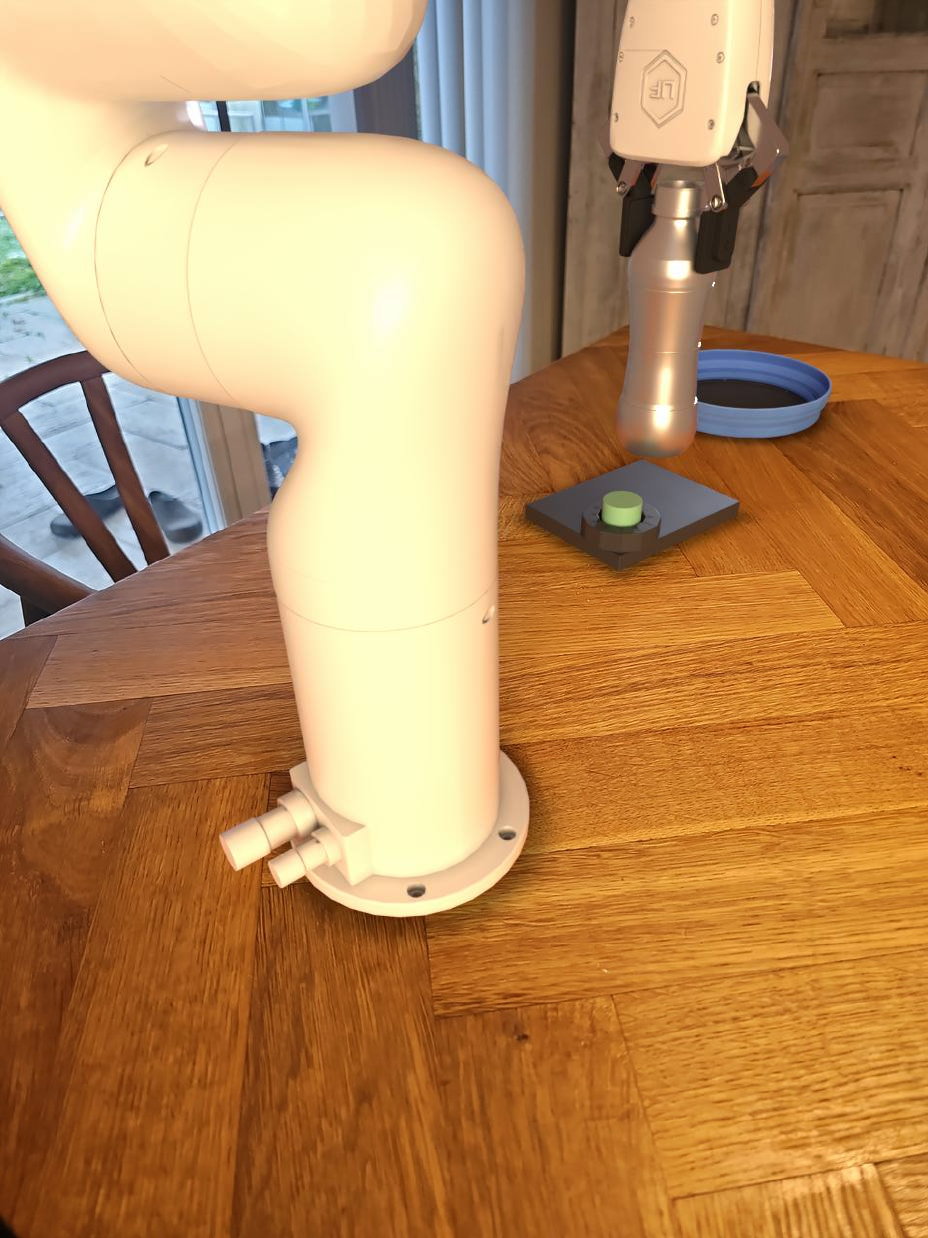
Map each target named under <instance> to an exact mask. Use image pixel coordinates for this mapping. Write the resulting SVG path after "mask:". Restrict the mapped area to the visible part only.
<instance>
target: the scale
mask: <svg viewBox="0 0 928 1238" xmlns="http://www.w3.org/2000/svg"><path fill="white" fill-rule="evenodd" d="M615 491H628V492H632V493H635V494H637V495H639V496H640V497H641V498H642V500H643V503H642V512H641V521H640V523H639V524H637V525H635V526H630V527H617V526H612V525H608V524H606V523H604V522H603V521H602V504H603V497H604V496H605V495H606V494H608V493H610V492H615ZM740 504H741V501H740V500H737V499H735V498H733V497H731V496H728V495H725V494H724V493H721V492H719V491H717V490H715V489H712V488H711V487H708V486H705V485H704V484H701V483H699V482H696V481H694V480H691V479H689V478H687V477H685V476H682V475H680V474H678V473H676V472H673V471H670V470H669V469H667V468H664V467H662V466H659V465H657V464H654V463H652V462H651V461H648V460H646V459H643V458H642V459H639V460H637V461H634V462H631V463H629V464H626V465H624V466H622V467H619V468H616V469H614V470H611V471H609V472H606V473H603V474H601V475H598V476H596V477H593V478H591V479H588V480H585V481H582V482H581V483H577V484H575V485H573V486H570V487H568V488H564V489H562V490H560V491H559V490H558V491H557V492H554V493H552V494H549V495H547V496H544V497H541V498H539V499H536V500H533V501H531V502H529V503H526V504H525V520H528V521H529V522H531V523H533V524H535V525H536V526H538V527H540V528H542V529H543V530H544V531H547V532H548V533H550V534H552V535H554V536H555V537H557V538H559V539H561V540H563V541H564V542H566V543H567V544H570V545H571V546H573V547H575V548H577V549H578V550H580V551H582V552H583V553H585V554H587V555H588V556H590V557H592V558H594V559H595V560H598V561H600V562H601V563H603V564H604V565H606V566H608V567H610V568H611V569H613V570H615V571H617V572H621V571H623V570H625V569H627V568H629V567H632V566H635V565H636V564H638V563H640V562H642V561H644V560H647V559H649V558H650V557H653V556H655V555H657V554H659V553H662V552H663V551H665V550H667V549H670V548H672V547H674V546H676V545H678V544H680V543H683V542H685V541H687V540H689V539H691V538H694V537H695V536H698V535H700V534H702V533H704V532H706V531H708V530H710V529H712V528H714V527H717V526H719V525H721V524H723V523H725V522H727V521H730V520H732V519H734V518H736V517H738V516H739V510H740Z"/></svg>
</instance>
